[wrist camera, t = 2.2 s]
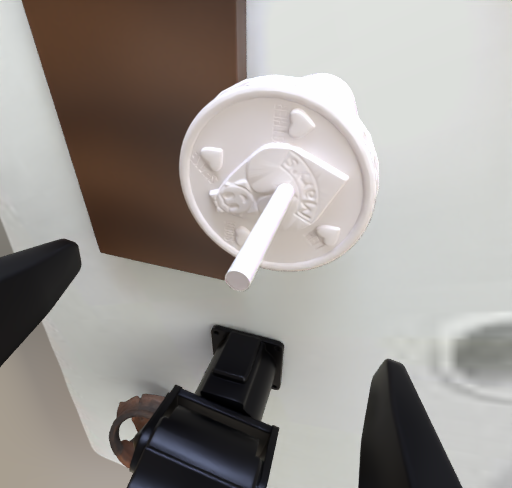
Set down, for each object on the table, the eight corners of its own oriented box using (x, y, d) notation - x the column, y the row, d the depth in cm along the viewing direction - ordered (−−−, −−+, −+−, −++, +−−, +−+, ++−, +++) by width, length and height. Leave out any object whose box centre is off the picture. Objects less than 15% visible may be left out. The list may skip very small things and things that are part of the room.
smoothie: (392, 156, 18) (393, 388, 8) (279, 178, 21) (162, 372, 10) (373, 20, 15) (330, 80, 5) (245, 66, 18) (27, 172, 7)
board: (248, 271, 26) (241, 284, 25) (111, 242, 29) (100, 252, 28) (246, -95, 15) (233, -103, 13) (19, -83, 18) (-7, -89, 16)
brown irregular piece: (122, 393, 46) (83, 433, 38) (175, 353, 44) (147, 385, 36) (178, 466, 46) (151, 521, 38) (234, 428, 44) (218, 478, 36)
